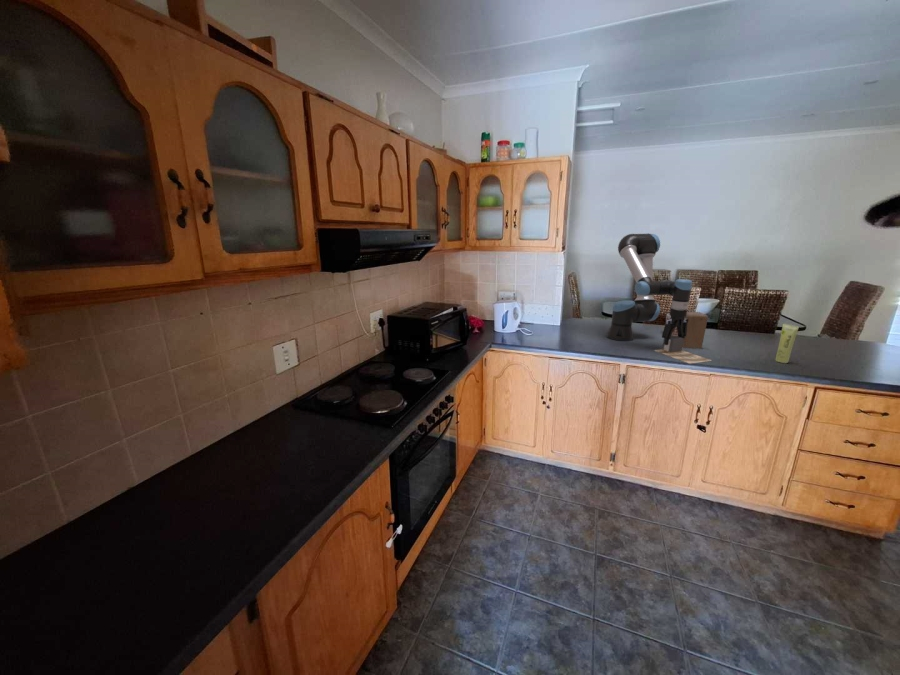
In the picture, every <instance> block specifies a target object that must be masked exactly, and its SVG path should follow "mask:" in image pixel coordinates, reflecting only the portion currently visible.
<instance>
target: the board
mask: <svg viewBox="0 0 900 675" xmlns="http://www.w3.org/2000/svg"><path fill="white" fill-rule="evenodd" d="M653 351H655V352H656V353H659V354H663V355H665V356H668V357H670V358H673V359H675V360H678V361H681V362H684V363H687V364H689V365H691V364H696V363H697V364H698V363H704V362H712V359H709V358H706V357H703V356H700V355H697V354H694V353H691V352H689V351H687V350H686V351H685V350H683V349H682V351H681V352H680V353H673V354H671V353H668V352H665V351H662V348H661V349H654V350H653Z"/></svg>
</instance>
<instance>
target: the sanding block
mask: <svg viewBox="0 0 900 675" xmlns="http://www.w3.org/2000/svg"><path fill="white" fill-rule="evenodd" d="M670 340H671V342H670V348H669V351H666V350H664V345H665V344H664V342H665V338H663V342H662V348H661V349H662V351H665V352H668V353H671V354H673V353H680V352H681V351H682V350H683V347H682V345H683V340H684V338H681V337H677V336H671V337H670Z"/></svg>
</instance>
